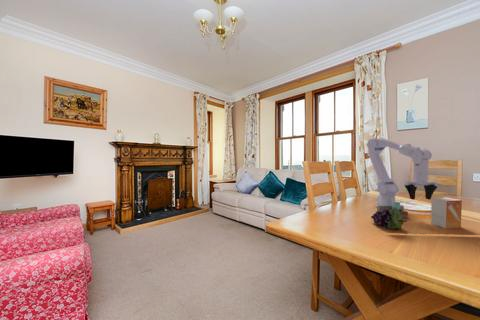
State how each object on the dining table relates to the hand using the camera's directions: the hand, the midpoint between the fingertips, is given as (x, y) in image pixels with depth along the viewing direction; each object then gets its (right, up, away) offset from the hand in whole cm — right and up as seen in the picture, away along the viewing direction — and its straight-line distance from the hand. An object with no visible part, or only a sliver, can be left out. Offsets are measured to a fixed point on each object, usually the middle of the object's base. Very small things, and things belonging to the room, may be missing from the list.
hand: (420, 199), depth 104 cm
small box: (0, -11, -13) cm, 16 cm away
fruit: (-27, -11, -14) cm, 32 cm away
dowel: (-11, -8, +2) cm, 14 cm away
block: (-11, -9, +2) cm, 14 cm away
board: (-11, -10, -1) cm, 15 cm away
